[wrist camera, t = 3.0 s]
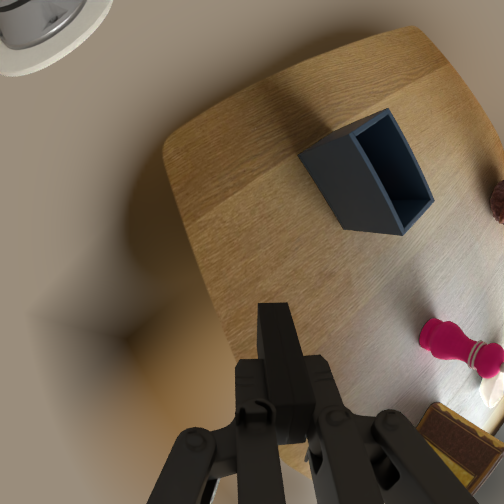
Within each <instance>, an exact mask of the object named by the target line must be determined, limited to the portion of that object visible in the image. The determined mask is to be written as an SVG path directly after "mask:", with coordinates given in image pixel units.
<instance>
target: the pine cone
mask: <svg viewBox="0 0 504 504" xmlns="http://www.w3.org/2000/svg"><path fill="white" fill-rule="evenodd" d="M490 203H491V205H490V206H491V210H492V212H493V217H494V218H495V219H496V221H498V222H499V223H500V224H503V225H504V180H503V181H502V182H498V184H497V186H495V188H494V192H493V193H492V197H491V199H490Z"/></svg>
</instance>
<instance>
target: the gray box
mask: <svg viewBox="0 0 504 504" xmlns="http://www.w3.org/2000/svg"><path fill="white" fill-rule="evenodd" d="M298 157H299V158H300V160H301V162H302V163H303V165H304V166H305V168H306V169H307V171H308V172H309V174H310V175H311V177H312V178H313V180H314V182H315V183H316V185H317V186H318V188H319V189H320V191H321V193H322V194H323V196H324V198H325V199H326V201H327V202H328V204H329V206H330V207H331V209H332V211H333V212H334V214H335V216H336V217H337V219H338V221H339V222H340V224H341V226H342V228H343V229H344V230H353V231H363V232H373V233H382V234H391V235H400V236H403V235H404V234H405V233H406V232H407V231H408V230H409V229H410V228H411V227H412V226H413V225H414V223H415V222H416V221H417V220H418V219H419V218H420V217H421V216H422V215H423V214H424V212H425V211H426V210H427V209H428V208H429V207H430V206H431V205H432V203H433V202H434V201H435V200H434V198H433V196H432V193H431V191H430V188H429V186H428V184H427V182H426V179H425V177H424V175H423V173H422V170H421V168H420V166H419V164H418V162H417V160H416V158H415V156H414V154H413V152H412V150H411V148H410V146H409V144H408V142H407V140H406V138H405V136H404V135H403V133H402V131H401V129H400V127H399V125H398V124H397V122H396V120H395V118H394V117H393V115H392V113H391V112H390V110H389V108H386V109H384V110H382V111H379V112H377V113H374V114H372V115H370V116H367V117H365V118H363V119H360V120H358V121H356V122H353V123H351V124H349V125H347V126H344V127H342V128H340V129H338V130H335V131H333V132H332V133H330V134H329V135H327V136H326V137H324V138H323V139H321V140H319V141H318V142H316V143H315V144H313V145H312V146H311V147H309V148H308V149H306V150H305V151H303V152H302V153H300V154H299V155H298Z"/></svg>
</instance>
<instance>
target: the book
mask: <svg viewBox="0 0 504 504" xmlns="http://www.w3.org/2000/svg"><path fill="white" fill-rule="evenodd" d="M416 429H417V431H418V432H419V433H420V434H421V435H422V437H423V438H424V439H425V440H426V441H427V442H428V444H429V445H430V446H431V447H432V448H433V450H434V451H435V452H436V453H437V454H438V455H439V457H440V458H441V459H442V460H443V461H444V463H445V464H446V465H447V466H448V467H449V468H450V470H451V471H452V472H453V473H454V474H455V476H456V477H457V478H458V479H459V480H460V482H461V483H462V484H463V485H464V486H465V488H466V489H467V490H468V491H469V492H470V494H471V495H472V496H473V495H474V494H475V493H476V492H477V491H478V489H479V488H480V487H481V486H482V485H483V483H484V482H485V481H486V480H487V478H488V477H489V476H490V474H491V473H492V472H493V471H494V469H495V468H496V466H497V465H498V464H499V462H500V461H501V459H502V458H503V456H504V443H503V442H501V441H500V440H498V439H496V438H495V437H493V436H492V435H490V434H488V433H487V432H485V431H484V430H482V429H480V428H479V427H477V426H476V425H474V424H473V423H471V422H469V421H468V420H466V419H465V418H463V417H462V416H460V415H459V414H457V413H455V412H454V411H452V410H451V409H449V408H448V407H446V406H445V405H443V404H442V403H440V402H435V403H433V404H431V405H430V407H429V408H428V409H427V411H426V413H425V414H424V416H423V418H422V419H421V421H420V423H419V424H418V426H417V427H416Z"/></svg>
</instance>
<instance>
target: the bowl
mask: <svg viewBox="0 0 504 504" xmlns="http://www.w3.org/2000/svg"><path fill="white" fill-rule="evenodd" d="M480 394H481V397H482V399H483V401H484V403H485V404H486V405H487V406H488V407H490V408H491V407H493V406H495V405H496V404H497V403H498V401H499V400H500V399H501V398H502V396H503V395H504V373H502V372H501V371H500V372H499V373H498V374H497V375H496V376H494V377H492V378H489V379H486V378H482V381H481V385H480Z"/></svg>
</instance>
